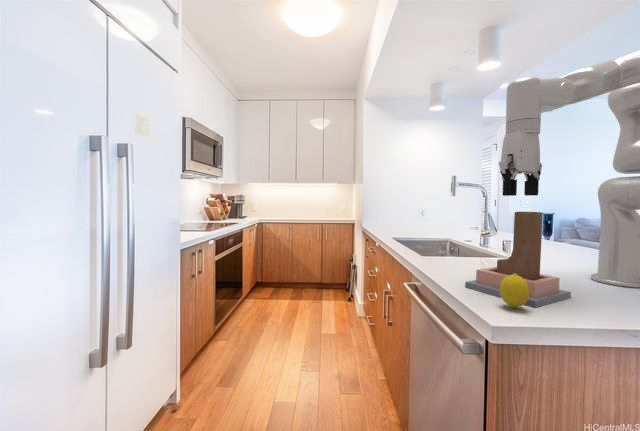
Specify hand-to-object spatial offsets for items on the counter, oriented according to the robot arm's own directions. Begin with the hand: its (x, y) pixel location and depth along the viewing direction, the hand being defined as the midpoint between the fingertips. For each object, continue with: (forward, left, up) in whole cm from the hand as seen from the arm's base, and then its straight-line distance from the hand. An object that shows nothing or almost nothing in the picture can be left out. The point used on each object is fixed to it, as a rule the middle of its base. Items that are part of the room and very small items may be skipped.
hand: (520, 195), depth 79 cm
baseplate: (0, 0, -26) cm, 26 cm away
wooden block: (0, 0, -22) cm, 22 cm away
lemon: (+13, +7, -26) cm, 30 cm away
